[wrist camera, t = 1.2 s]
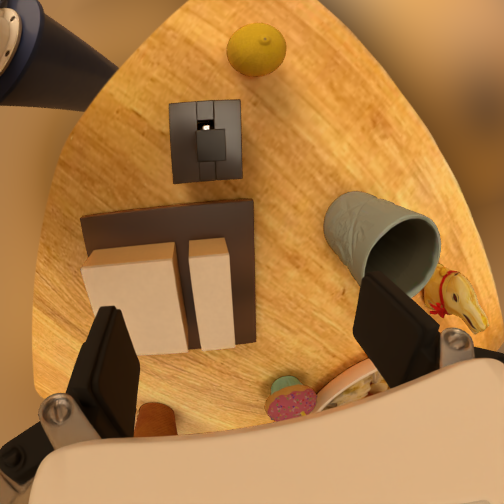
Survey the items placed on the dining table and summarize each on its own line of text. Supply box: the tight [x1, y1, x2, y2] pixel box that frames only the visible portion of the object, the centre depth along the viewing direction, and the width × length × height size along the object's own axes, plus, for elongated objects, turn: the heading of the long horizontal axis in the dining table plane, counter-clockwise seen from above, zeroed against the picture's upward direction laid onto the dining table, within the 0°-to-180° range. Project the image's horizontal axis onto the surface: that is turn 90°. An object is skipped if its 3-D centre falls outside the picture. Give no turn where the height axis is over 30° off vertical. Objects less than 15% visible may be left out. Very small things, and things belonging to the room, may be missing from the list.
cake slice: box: [189, 238, 235, 351], centre depth 33 cm, size 12×4×5 cm, turn 1°
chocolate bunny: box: [424, 263, 489, 334], centre depth 37 cm, size 7×11×15 cm, turn 24°
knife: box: [196, 125, 226, 163], centre depth 22 cm, size 3×2×16 cm, turn 1°
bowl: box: [310, 358, 390, 414], centre depth 50 cm, size 30×30×8 cm
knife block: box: [169, 99, 243, 184], centre depth 26 cm, size 7×6×7 cm
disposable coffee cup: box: [134, 403, 178, 437], centre depth 39 cm, size 10×10×12 cm
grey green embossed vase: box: [324, 191, 441, 298], centre depth 31 cm, size 10×10×12 cm
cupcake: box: [265, 376, 317, 422], centre depth 41 cm, size 9×8×12 cm
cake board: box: [80, 199, 256, 350], centre depth 35 cm, size 20×20×1 cm
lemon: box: [227, 23, 286, 77], centre depth 23 cm, size 6×6×8 cm
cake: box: [80, 242, 188, 356], centre depth 32 cm, size 12×10×5 cm
